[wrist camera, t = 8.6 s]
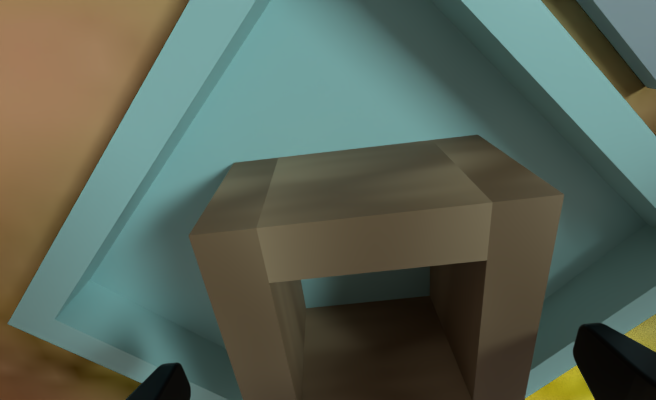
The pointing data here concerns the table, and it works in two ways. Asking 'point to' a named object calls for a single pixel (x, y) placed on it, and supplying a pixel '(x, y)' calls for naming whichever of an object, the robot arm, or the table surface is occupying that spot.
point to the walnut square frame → (381, 255)
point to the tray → (342, 134)
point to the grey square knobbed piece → (628, 32)
